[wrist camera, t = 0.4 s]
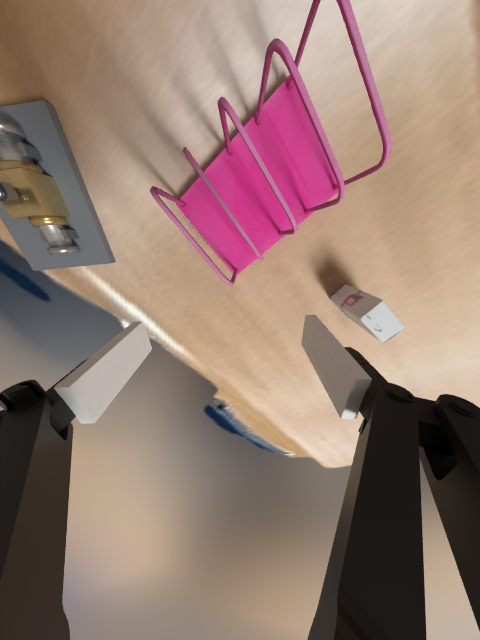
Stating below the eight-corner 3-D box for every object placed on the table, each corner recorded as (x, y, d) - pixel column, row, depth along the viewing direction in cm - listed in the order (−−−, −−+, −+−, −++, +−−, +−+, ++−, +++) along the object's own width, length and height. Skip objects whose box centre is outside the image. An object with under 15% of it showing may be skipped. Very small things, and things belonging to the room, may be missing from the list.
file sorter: (178, 204, 33) (132, 184, 19) (288, 81, 26) (342, -96, 12) (235, 275, 39) (231, 298, 25) (337, 190, 32) (412, 157, 18)
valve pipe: (2, 136, 28) (-50, 114, 23) (35, 131, 28) (-10, 108, 23) (63, 253, 37) (34, 256, 32) (89, 250, 36) (65, 253, 31)
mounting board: (-49, 121, 28) (-63, 116, 27) (53, 106, 27) (43, 99, 26) (40, 269, 39) (33, 270, 38) (115, 262, 38) (111, 263, 37)
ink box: (366, 304, 42) (408, 328, 31) (349, 318, 44) (382, 345, 33) (346, 282, 40) (384, 300, 29) (328, 298, 41) (358, 320, 31)
